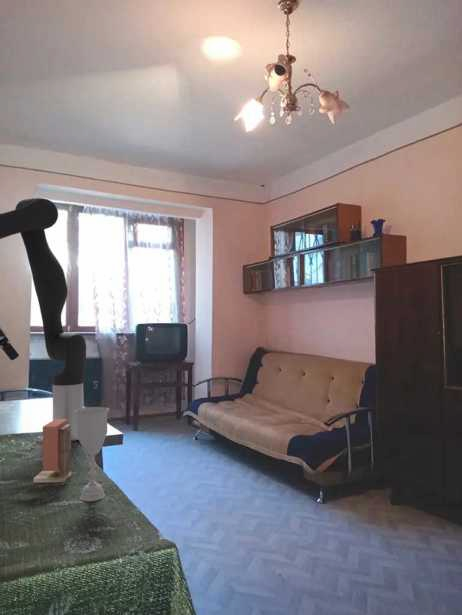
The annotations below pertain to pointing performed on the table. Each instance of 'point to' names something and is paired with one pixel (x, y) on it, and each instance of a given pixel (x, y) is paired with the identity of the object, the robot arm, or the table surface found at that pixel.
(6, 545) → the table surface
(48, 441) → the pink block with hole
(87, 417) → the chalice
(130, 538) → the table surface
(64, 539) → the table surface
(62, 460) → the pipe stand
